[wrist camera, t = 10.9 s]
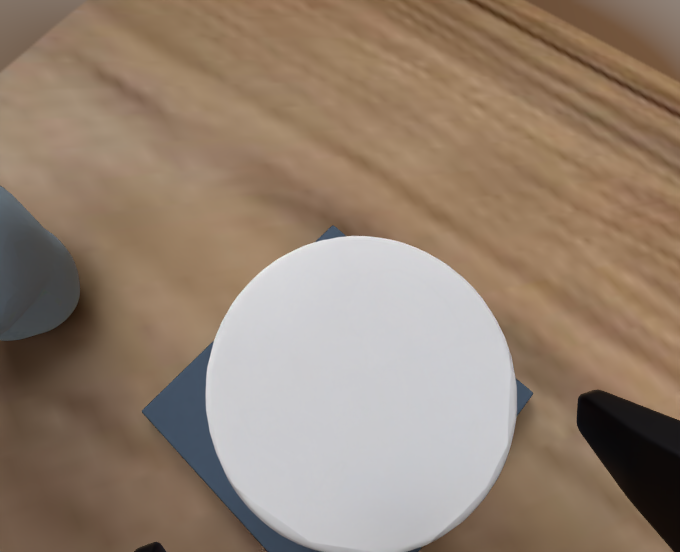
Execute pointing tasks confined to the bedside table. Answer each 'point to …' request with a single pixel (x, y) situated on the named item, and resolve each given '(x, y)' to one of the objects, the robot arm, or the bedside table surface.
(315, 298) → the pill bottle
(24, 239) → the wolf head
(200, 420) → the mat
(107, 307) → the bedside table surface
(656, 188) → the bedside table surface
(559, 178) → the bedside table surface
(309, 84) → the bedside table surface
